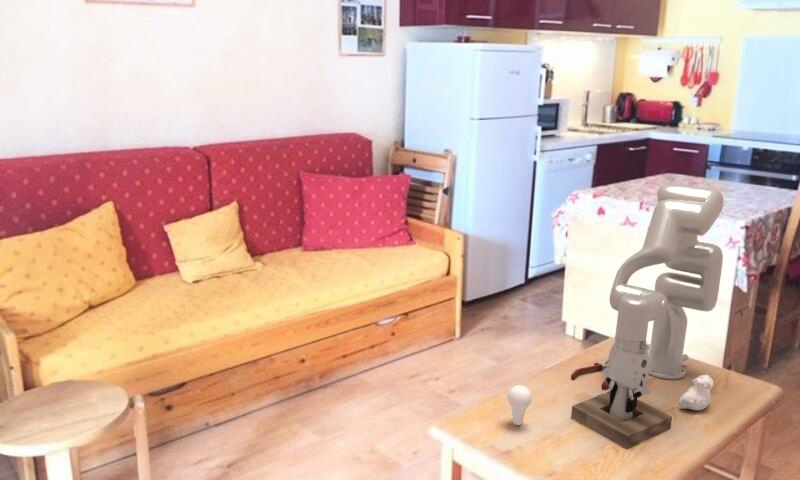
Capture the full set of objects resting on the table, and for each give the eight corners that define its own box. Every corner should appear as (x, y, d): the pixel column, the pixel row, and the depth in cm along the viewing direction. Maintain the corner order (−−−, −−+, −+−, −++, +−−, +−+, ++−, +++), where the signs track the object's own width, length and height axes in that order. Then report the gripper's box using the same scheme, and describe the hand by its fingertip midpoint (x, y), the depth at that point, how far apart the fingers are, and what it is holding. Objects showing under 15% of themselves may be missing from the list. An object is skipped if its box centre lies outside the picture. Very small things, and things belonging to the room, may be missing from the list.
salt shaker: (604, 421, 181) (609, 377, 178) (615, 414, 185) (620, 370, 182) (624, 430, 177) (630, 384, 174) (635, 423, 181) (641, 378, 178)
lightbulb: (532, 423, 179) (535, 385, 177) (524, 433, 174) (527, 394, 172) (510, 416, 182) (513, 379, 180) (502, 426, 177) (504, 388, 174)
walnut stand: (614, 400, 193) (615, 388, 192) (670, 428, 179) (672, 416, 178) (571, 417, 183) (572, 405, 182) (627, 448, 169) (628, 436, 168)
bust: (682, 421, 187) (711, 401, 179) (665, 397, 190) (692, 377, 183) (705, 408, 194) (734, 389, 187) (688, 385, 198) (715, 366, 190)
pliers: (630, 369, 214) (630, 361, 213) (605, 392, 198) (606, 384, 198) (595, 359, 221) (595, 351, 220) (568, 380, 205) (569, 372, 204)
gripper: (667, 351, 170) (658, 417, 175) (612, 329, 184) (605, 390, 188) (649, 358, 166) (640, 425, 171) (594, 334, 179) (587, 397, 184)
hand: (622, 406), depth 180 cm, fingers open, 4 cm apart
